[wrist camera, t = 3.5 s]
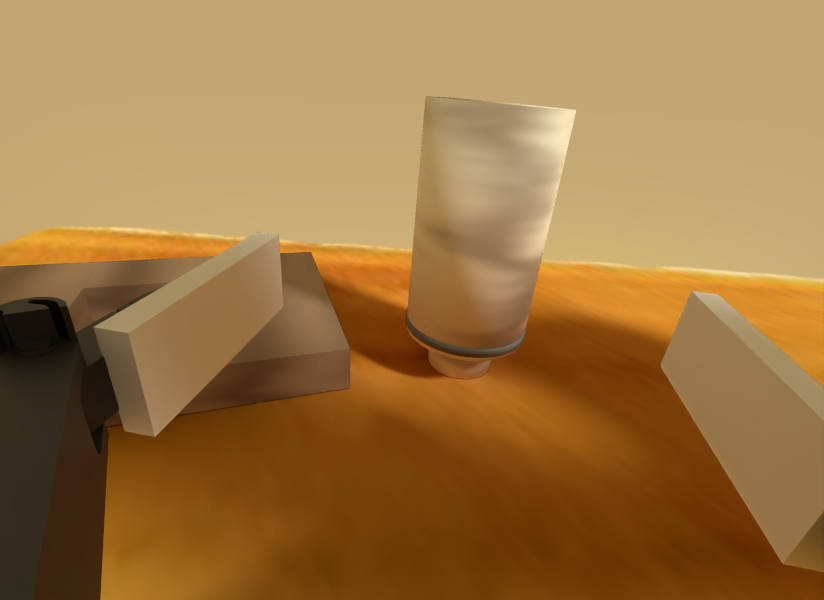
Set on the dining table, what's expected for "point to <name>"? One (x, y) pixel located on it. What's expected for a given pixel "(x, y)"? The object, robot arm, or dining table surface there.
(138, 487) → the dining table surface
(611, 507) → the dining table surface
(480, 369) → the ash leg
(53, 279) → the walnut board
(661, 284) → the dining table surface
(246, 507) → the dining table surface
